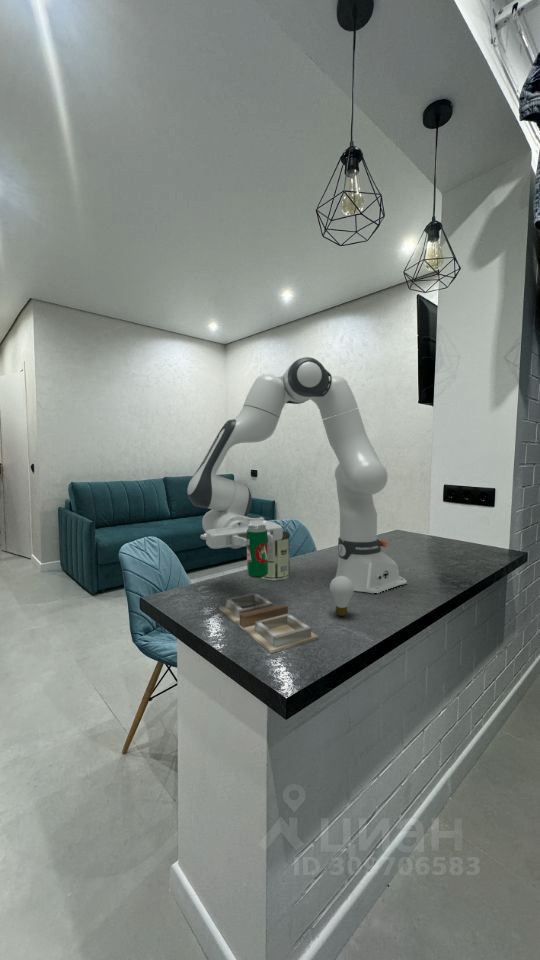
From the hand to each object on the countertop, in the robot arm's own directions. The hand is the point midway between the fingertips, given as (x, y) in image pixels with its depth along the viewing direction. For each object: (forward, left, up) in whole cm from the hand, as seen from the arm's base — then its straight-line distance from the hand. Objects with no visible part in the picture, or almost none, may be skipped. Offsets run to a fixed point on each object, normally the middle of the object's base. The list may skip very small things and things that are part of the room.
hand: (259, 541), depth 94 cm
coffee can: (-17, -29, -19) cm, 39 cm away
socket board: (0, +3, -19) cm, 19 cm away
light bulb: (-19, +7, -19) cm, 28 cm away
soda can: (0, -1, -9) cm, 9 cm away
